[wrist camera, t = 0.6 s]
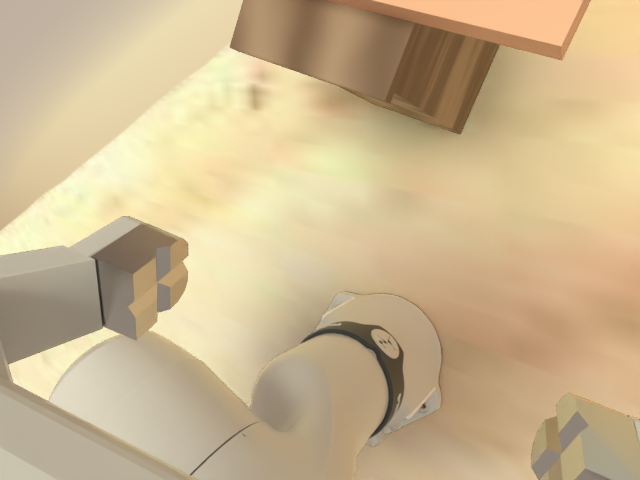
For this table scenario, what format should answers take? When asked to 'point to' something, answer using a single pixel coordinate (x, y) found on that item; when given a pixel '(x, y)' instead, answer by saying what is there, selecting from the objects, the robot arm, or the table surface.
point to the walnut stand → (370, 56)
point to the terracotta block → (493, 20)
